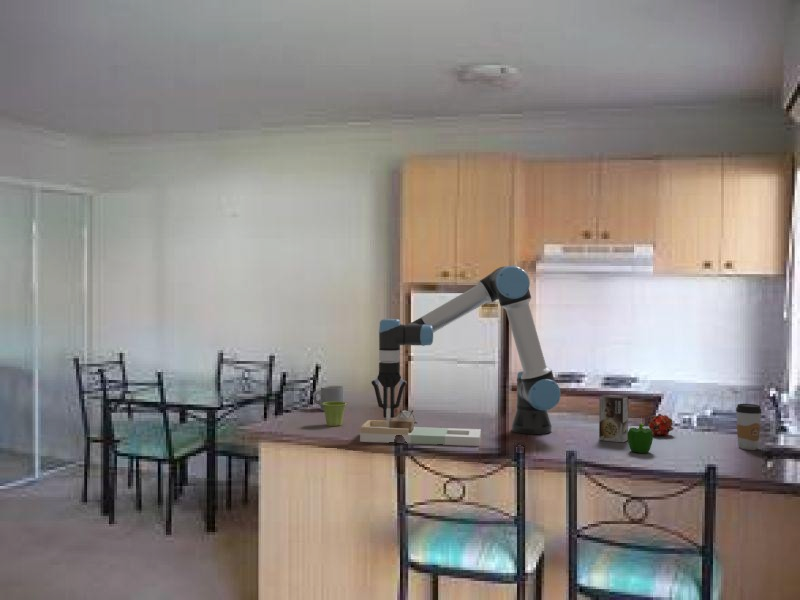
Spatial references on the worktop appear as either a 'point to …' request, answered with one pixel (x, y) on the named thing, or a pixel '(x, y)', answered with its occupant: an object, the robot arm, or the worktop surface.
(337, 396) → the coffee mug
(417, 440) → the deck
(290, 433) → the worktop surface
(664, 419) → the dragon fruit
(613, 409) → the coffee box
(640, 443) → the bell pepper
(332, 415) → the plant pot
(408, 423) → the walnut block
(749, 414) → the coffee cup
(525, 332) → the robot arm
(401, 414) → the game die
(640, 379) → the worktop surface
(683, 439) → the worktop surface
